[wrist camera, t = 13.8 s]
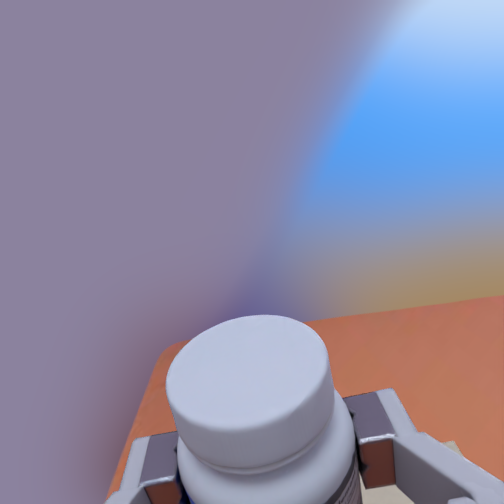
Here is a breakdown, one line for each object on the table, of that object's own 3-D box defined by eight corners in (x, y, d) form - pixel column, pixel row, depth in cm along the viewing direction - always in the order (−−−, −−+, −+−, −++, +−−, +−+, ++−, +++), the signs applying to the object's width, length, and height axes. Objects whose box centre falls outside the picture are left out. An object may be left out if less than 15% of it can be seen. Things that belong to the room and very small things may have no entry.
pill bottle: (198, 592, 12) (105, 396, 9) (274, 469, 15) (228, 294, 12) (335, 710, 9) (275, 487, 6) (392, 528, 13) (373, 321, 9)
